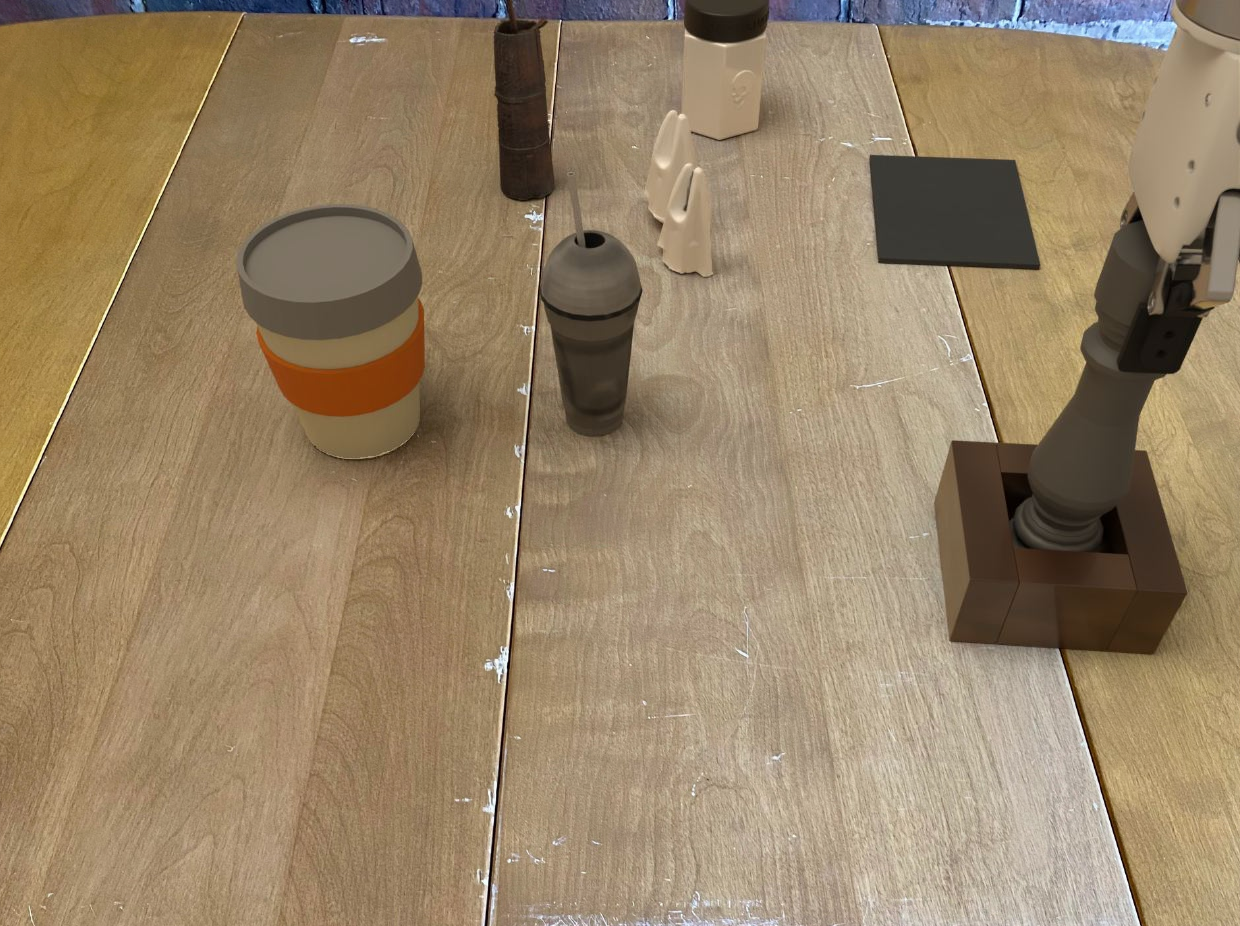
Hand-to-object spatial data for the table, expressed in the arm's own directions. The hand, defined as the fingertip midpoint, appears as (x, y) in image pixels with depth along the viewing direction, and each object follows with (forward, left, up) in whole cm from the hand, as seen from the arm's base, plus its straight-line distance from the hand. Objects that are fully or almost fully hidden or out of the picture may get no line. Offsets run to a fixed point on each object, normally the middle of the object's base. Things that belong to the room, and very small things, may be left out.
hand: (1135, 330), depth 65 cm
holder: (0, 0, -20) cm, 20 cm away
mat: (+2, -46, -20) cm, 50 cm away
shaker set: (+27, -39, -20) cm, 52 cm away
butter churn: (+41, -48, -20) cm, 66 cm away
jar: (+24, -62, -20) cm, 69 cm away
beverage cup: (+32, -14, -20) cm, 40 cm away
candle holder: (0, 0, -20) cm, 20 cm away
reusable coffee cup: (+50, -12, -20) cm, 55 cm away
